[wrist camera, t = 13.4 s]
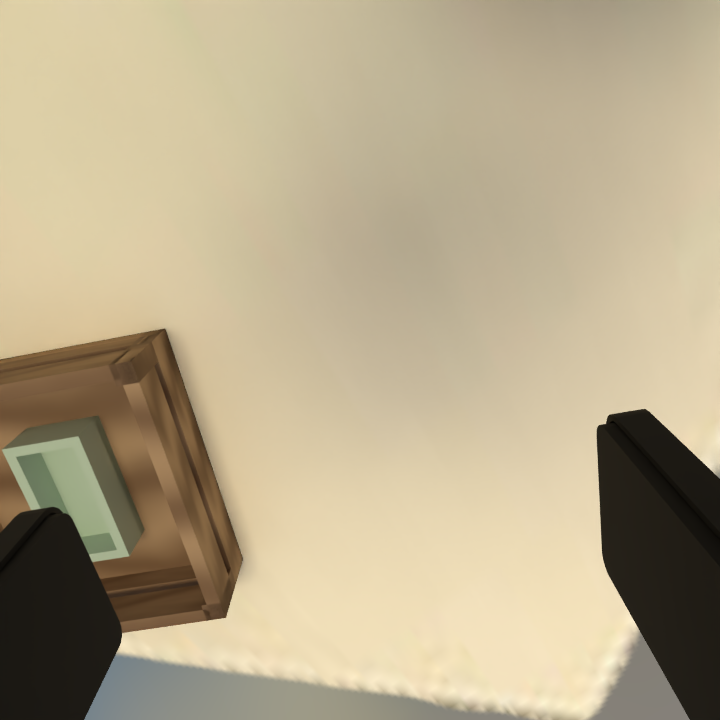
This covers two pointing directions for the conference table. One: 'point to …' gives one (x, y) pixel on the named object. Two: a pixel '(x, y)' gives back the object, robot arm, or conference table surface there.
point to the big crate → (135, 471)
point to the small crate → (78, 483)
